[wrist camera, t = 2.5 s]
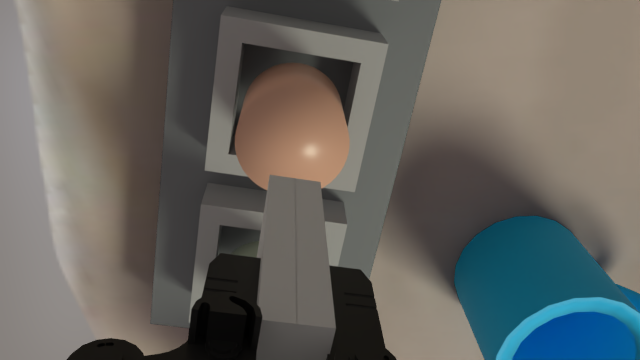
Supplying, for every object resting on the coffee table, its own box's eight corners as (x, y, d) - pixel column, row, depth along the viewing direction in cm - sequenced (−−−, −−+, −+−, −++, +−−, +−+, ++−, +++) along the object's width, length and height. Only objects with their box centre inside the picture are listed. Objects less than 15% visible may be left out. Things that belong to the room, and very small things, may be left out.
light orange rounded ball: (249, 54, 25) (242, 79, 21) (350, 71, 25) (360, 99, 22) (237, 149, 26) (228, 187, 23) (332, 163, 27) (337, 203, 23)
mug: (440, 316, 38) (475, 414, 31) (471, 208, 35) (519, 289, 27) (611, 332, 39) (684, 430, 32) (657, 228, 36) (751, 311, 29)
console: (207, -295, 24) (184, -347, 19) (482, -231, 25) (527, -264, 20) (161, 292, 36) (140, 352, 32) (347, 315, 38) (355, 375, 33)
